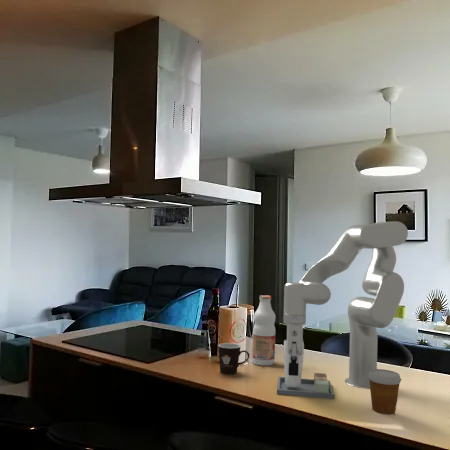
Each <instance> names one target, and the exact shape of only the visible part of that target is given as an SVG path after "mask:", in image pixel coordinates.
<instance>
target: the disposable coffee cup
mask: <svg viewBox="0 0 450 450" xmlns="http://www.w3.org/2000/svg"><path fill="white" fill-rule="evenodd" d="M368 377H369V382H370V399H371V409H372V411H373V412H375V413H378V414H382V415H389V416H390V415H394V416H395V415H396V410H397V402H398V397H399V395H398V394H399V390H400V384H401V381H402V378H401V375H400V373H399V372H396V371H394V370H389V369H383V368H377V369H373V370H370V371H369V374H368Z"/></svg>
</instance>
